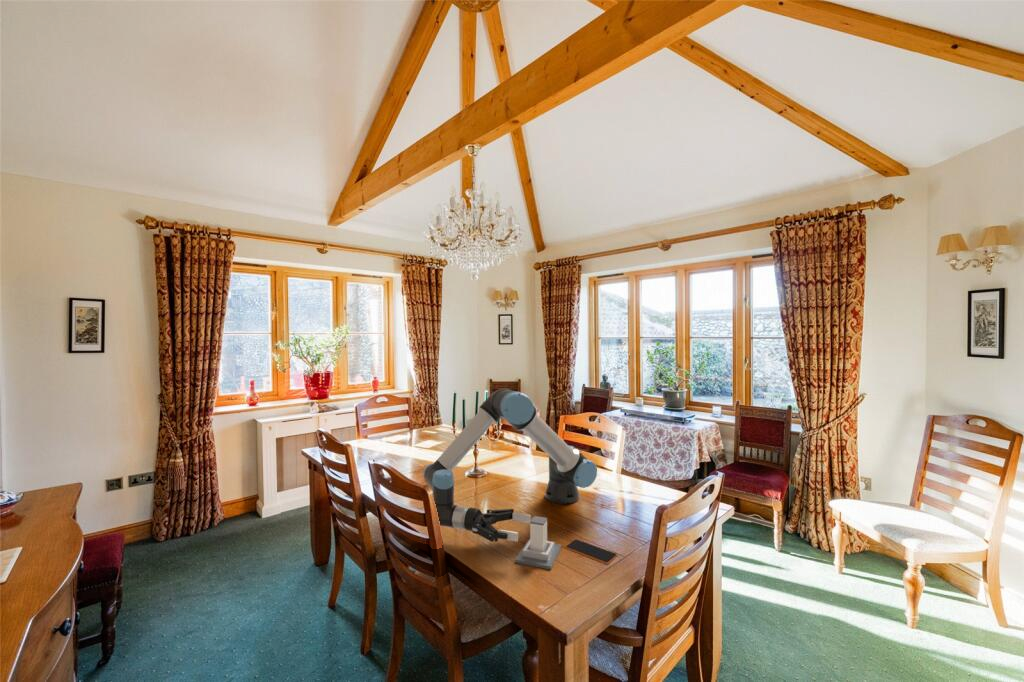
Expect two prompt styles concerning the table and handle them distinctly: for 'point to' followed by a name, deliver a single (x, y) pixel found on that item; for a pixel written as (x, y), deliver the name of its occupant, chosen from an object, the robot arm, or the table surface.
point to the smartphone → (591, 551)
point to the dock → (539, 555)
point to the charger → (538, 534)
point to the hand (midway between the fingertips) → (524, 527)
